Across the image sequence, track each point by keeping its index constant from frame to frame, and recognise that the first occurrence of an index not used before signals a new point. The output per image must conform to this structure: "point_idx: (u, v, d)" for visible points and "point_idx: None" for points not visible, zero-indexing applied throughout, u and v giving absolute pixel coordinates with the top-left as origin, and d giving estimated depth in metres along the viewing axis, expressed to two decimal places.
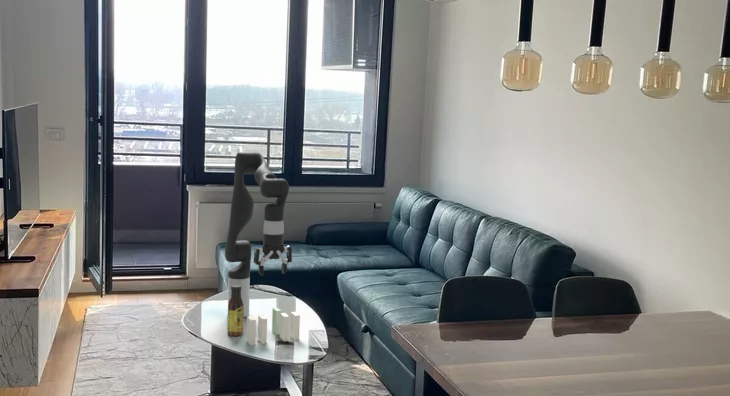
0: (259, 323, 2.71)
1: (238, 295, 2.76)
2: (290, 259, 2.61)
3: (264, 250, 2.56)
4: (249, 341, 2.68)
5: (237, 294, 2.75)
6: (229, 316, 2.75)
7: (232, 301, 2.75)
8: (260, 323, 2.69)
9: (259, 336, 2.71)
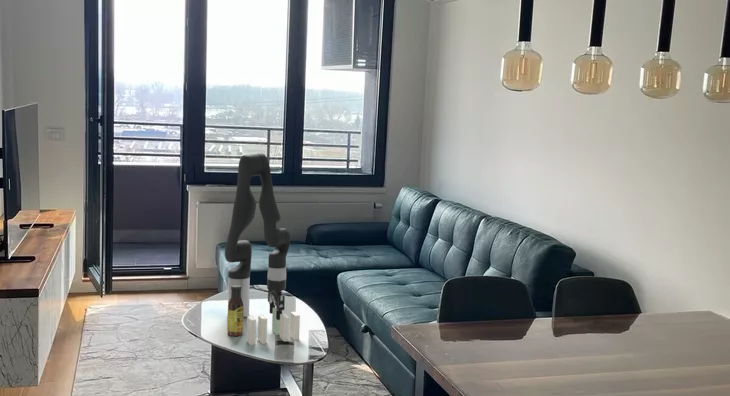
0: (259, 323, 2.71)
1: (238, 295, 2.76)
2: None
3: (281, 295, 2.77)
4: (249, 341, 2.68)
5: (237, 294, 2.75)
6: (229, 316, 2.75)
7: (232, 301, 2.75)
8: (260, 323, 2.69)
9: (259, 336, 2.71)
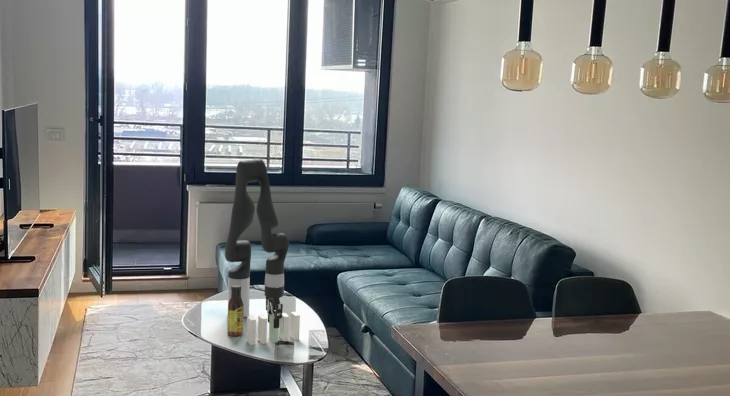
0: (259, 323, 2.71)
1: (238, 295, 2.76)
2: None
3: (279, 303, 2.68)
4: (249, 341, 2.68)
5: (237, 294, 2.75)
6: (229, 316, 2.75)
7: (232, 301, 2.75)
8: (260, 323, 2.69)
9: (259, 336, 2.71)
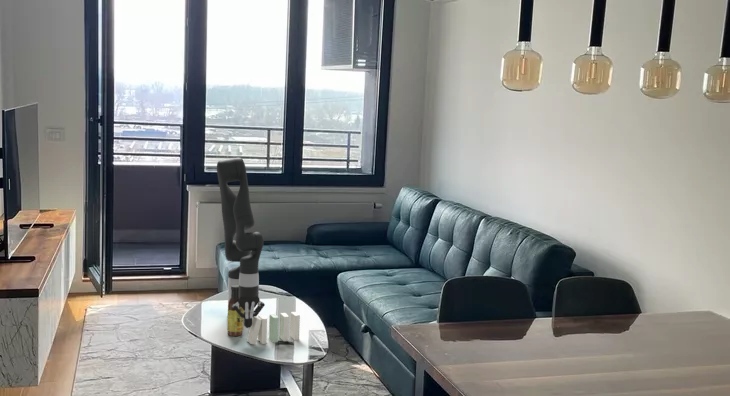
0: None
1: (238, 295, 2.76)
2: None
3: None
4: (250, 340, 2.68)
5: (237, 294, 2.75)
6: (229, 316, 2.75)
7: (232, 301, 2.75)
8: None
9: (259, 336, 2.71)
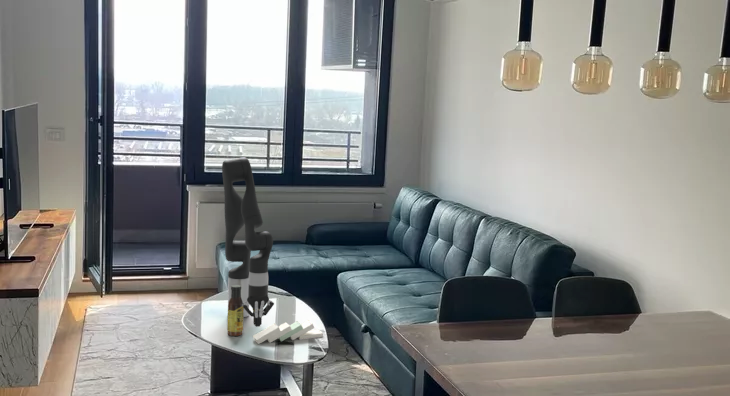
0: (281, 326, 2.75)
1: (238, 295, 2.76)
2: None
3: None
4: (257, 337, 2.69)
5: (237, 294, 2.75)
6: (229, 316, 2.75)
7: (232, 301, 2.75)
8: (283, 327, 2.73)
9: None
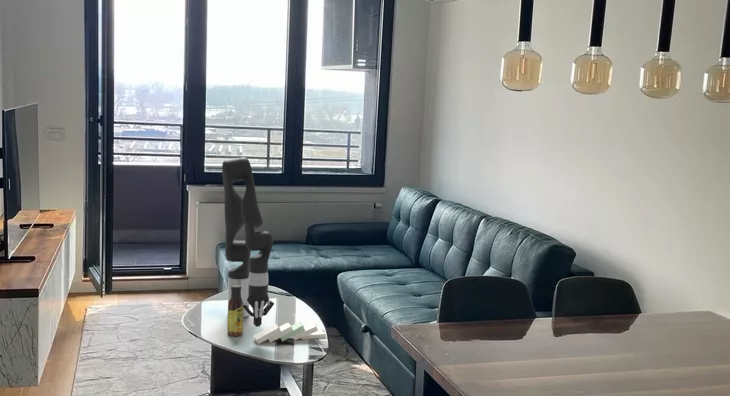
0: (282, 326, 2.75)
1: (238, 295, 2.76)
2: None
3: None
4: (258, 337, 2.69)
5: (237, 294, 2.75)
6: (229, 316, 2.75)
7: (232, 301, 2.75)
8: (285, 327, 2.73)
9: None
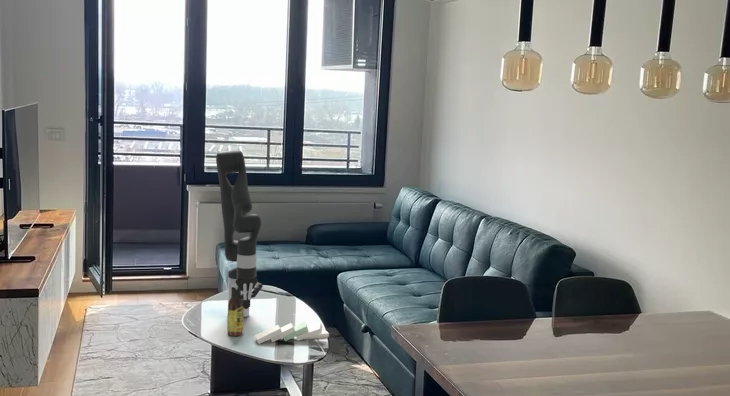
0: (285, 327, 2.75)
1: None
2: None
3: None
4: (258, 337, 2.69)
5: None
6: (229, 316, 2.75)
7: (232, 301, 2.75)
8: (287, 328, 2.73)
9: None
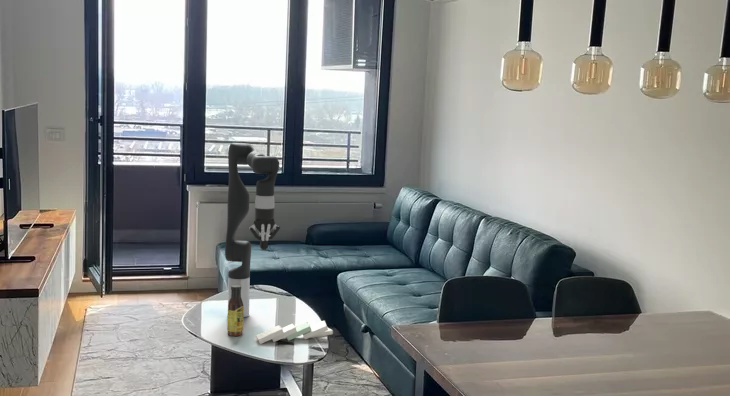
0: (287, 327, 2.75)
1: (238, 295, 2.76)
2: None
3: None
4: (260, 337, 2.69)
5: (237, 294, 2.75)
6: (229, 316, 2.75)
7: (232, 301, 2.75)
8: (289, 328, 2.74)
9: None
